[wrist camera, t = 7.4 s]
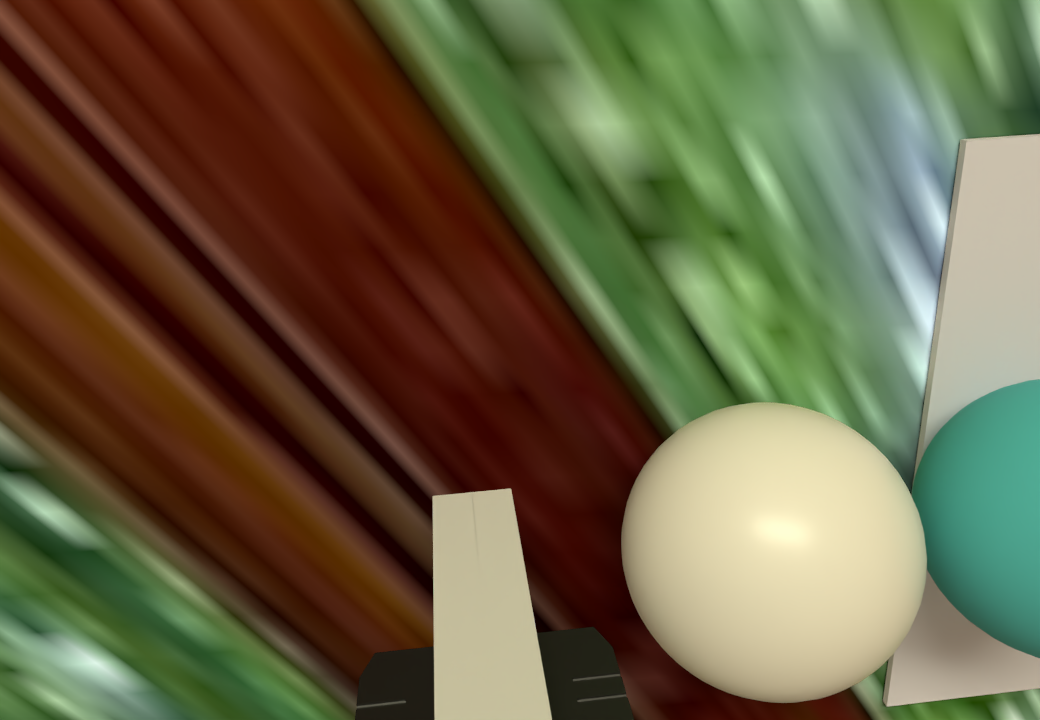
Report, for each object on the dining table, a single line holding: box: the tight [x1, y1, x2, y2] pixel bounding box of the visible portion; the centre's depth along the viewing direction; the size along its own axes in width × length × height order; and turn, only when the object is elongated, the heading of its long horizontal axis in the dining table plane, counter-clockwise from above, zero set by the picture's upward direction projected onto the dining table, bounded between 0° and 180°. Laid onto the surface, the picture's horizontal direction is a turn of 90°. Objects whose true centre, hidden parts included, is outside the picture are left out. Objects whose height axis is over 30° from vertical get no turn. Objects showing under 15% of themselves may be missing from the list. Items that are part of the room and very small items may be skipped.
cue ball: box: [621, 402, 927, 703], centre depth 16 cm, size 6×6×6 cm
